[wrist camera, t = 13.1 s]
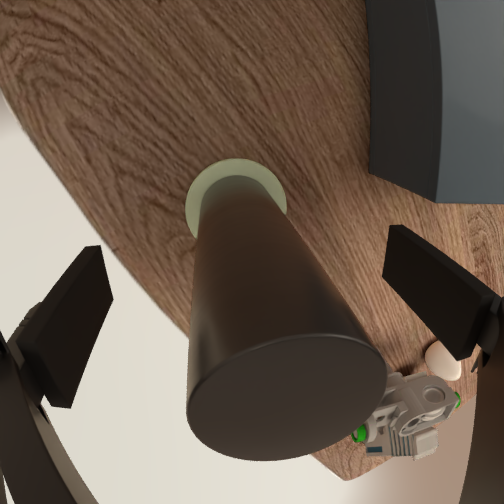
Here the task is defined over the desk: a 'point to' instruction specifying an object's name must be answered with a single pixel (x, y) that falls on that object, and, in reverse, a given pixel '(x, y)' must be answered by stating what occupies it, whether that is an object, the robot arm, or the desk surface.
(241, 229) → the dark brown cylinder
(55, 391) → the robot arm
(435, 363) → the egg
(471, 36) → the cabinet
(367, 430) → the mechanical component
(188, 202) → the coaster
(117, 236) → the desk surface
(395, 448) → the toy gun
